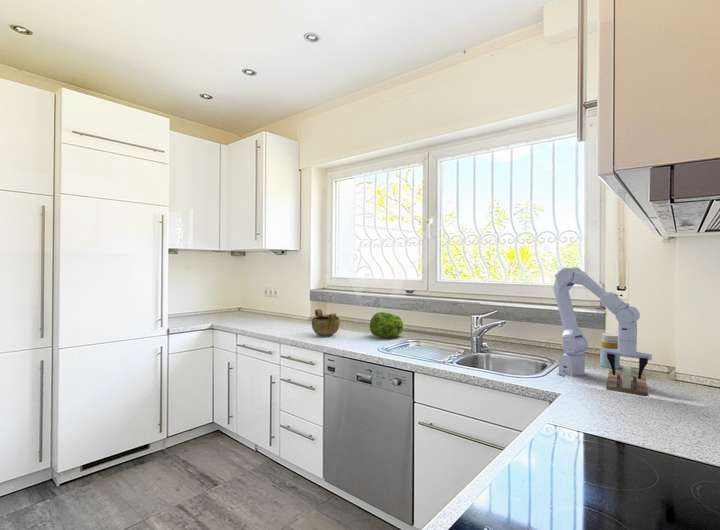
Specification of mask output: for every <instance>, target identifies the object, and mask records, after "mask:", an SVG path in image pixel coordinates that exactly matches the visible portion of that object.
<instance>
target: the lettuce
mask: <svg viewBox="0 0 720 530" xmlns="http://www.w3.org/2000/svg"><path fill="white" fill-rule="evenodd" d="M404 329H405V324H404V321H403V319H402V318H401V317H400V316H398V315H397V314H396V315H395V314H393V313H388V312H381V311H379V312H377V313H375V314H373V315H372V317H371V319H370V321H369V331H370V333H371V334H372V335H373V336H376V337H378V338H382V339H391V338H395V337H398V336H399V335H400V334H402V333H403V332H404Z"/></svg>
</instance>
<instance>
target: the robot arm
mask: <svg viewBox="0 0 720 530" xmlns="http://www.w3.org/2000/svg"><path fill="white" fill-rule="evenodd" d="M554 278H555V280H554V284H553V289H552V290H553V294H554V297H555V301H556V303H557V309H558V312H559V317H560V320H561V325H562V328H563V332H562V334H561V339H562V342H561V348H562V349H563V351H564V354H562V355H560V357H558V358H559V359H558V372H556V374H557V375H559V376H564V377H566V376H567V375H568V376H570V377H575V376H584V375H585V373H586V353H585V352H586V350H587V349H588V347H589V344H588V343H589V342H588V340H587V339H586V337H585V336H584V333H583V331H582V330H581V329H580V328H579V326H578V322H577V317H576V314H575V310H574V306H573V303H572V298H571V295H570V290H571V289H572V288H573V286H574V285H581V286H583V288H585V289H587V290H588V291H589V292H591V293H592V294H593V295H594V296H596V297H597V298H599V302H600V304H601V305H602V306H603V307H604V308H605V309H607V310H608V311H609V312H610V313H612V314H613V315H615V319H616V321H617V322H618V327H617V328H618V329H617V335H618V350H617V349H604V355H607V359H608V360H609V363H610V365H611V368H612V369H611V370H612V372H613V375H615V371H616V369H615V356H620V357H624V358H631V359H638V361H639V362H638V372H637V374H638V379H641V375H642V374H643V372H644V370H645V368H646V366H647V365H648V362H649V361H652V360H653V354H652V353H646V352H640V351H637V350H638V343H637V341H638V320H640V318H641V317H640V315H641V314H640V311H639V310H638V309H637V308H636V307H634V306H630V304H629V302H625V301H624V300H622V298H620V297H619V294H618V293H615V292H611V291H610V292H607V291H606V289H604V288H603V287H601V286H600V285H599V284H598V283H597V282H596V281H595V280H594V279H592V278H591V277H590V276H589V275H588V274H587V272H585V271H583V270H582V269H581V268H580V267H575V266H574V267H562V268H561V267H560V268H559V269H558V270H557V272H556V273H555V274H554Z"/></svg>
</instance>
